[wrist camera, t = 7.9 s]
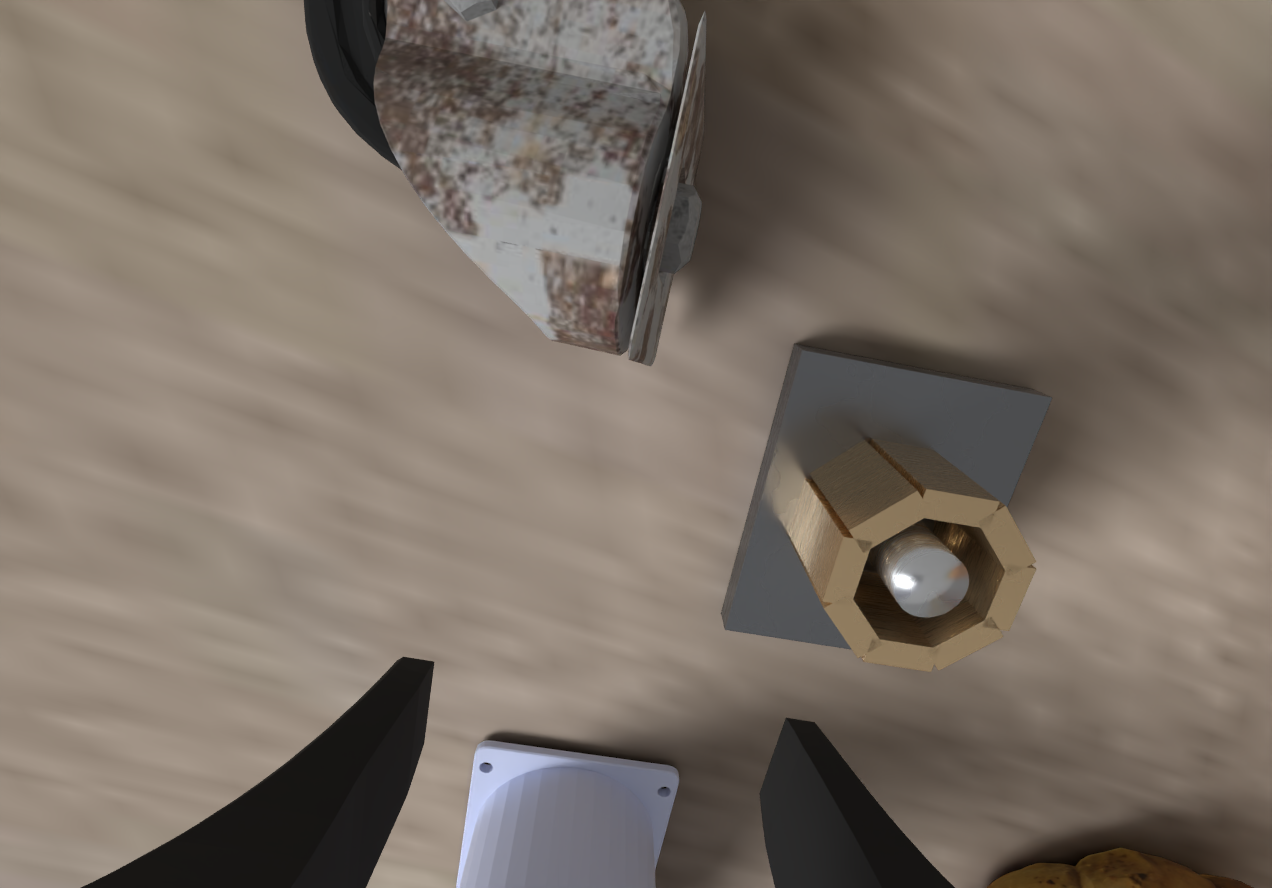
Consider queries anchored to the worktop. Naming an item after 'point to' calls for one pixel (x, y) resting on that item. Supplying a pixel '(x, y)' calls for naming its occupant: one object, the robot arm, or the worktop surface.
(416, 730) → the robot arm
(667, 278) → the caster wheel
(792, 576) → the stub shaft
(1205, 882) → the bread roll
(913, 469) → the hub ring
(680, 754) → the worktop surface
